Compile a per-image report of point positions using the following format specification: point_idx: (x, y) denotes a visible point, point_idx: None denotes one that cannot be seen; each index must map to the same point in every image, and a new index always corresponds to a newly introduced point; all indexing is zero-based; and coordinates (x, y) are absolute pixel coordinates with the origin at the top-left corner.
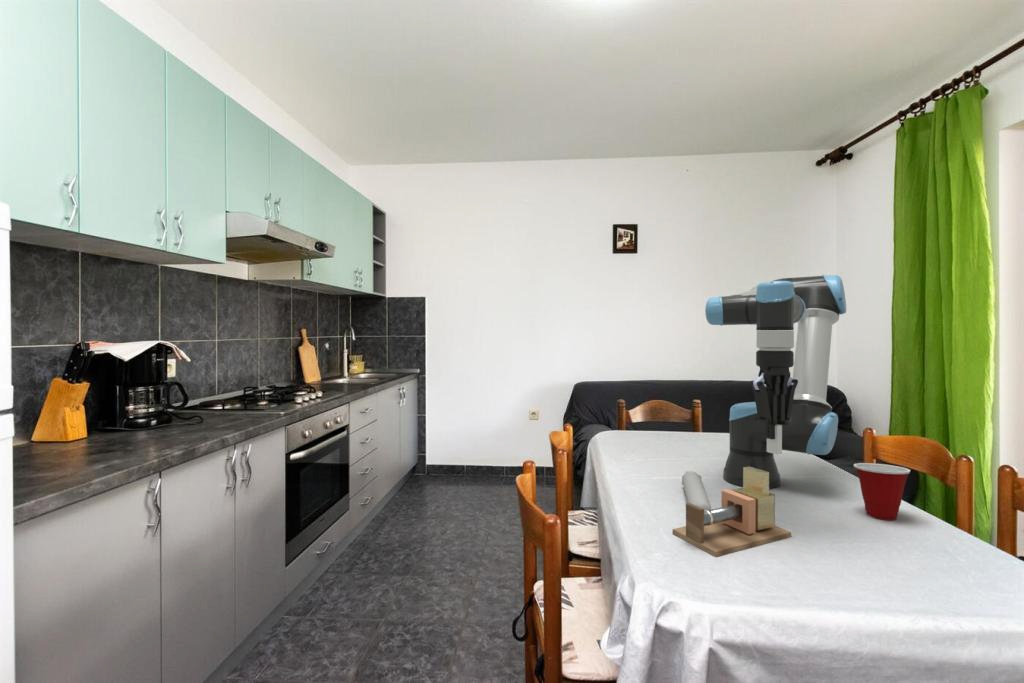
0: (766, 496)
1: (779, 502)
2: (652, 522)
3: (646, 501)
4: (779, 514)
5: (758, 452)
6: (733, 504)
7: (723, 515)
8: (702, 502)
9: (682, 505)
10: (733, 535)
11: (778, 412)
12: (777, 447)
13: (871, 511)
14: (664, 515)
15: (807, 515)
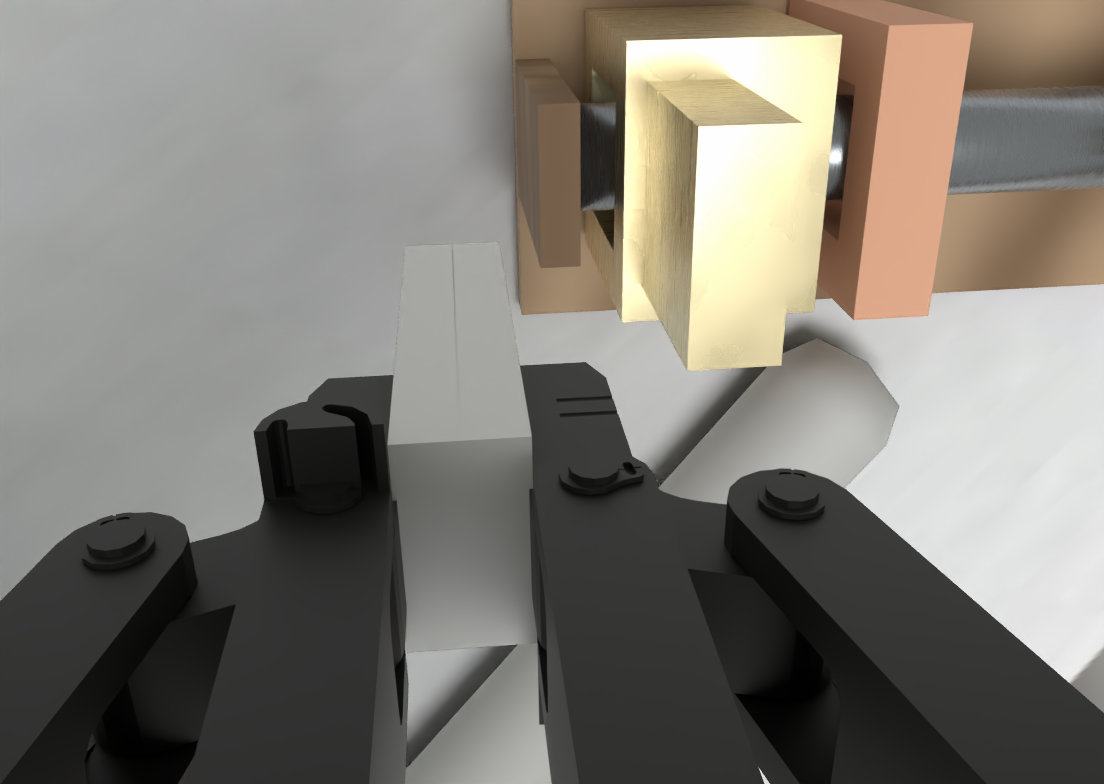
0: (711, 55)
1: (33, 419)
2: (1092, 441)
3: None
4: (232, 250)
5: None
6: (825, 225)
7: (1073, 93)
8: (853, 419)
9: None
10: None
11: (390, 694)
12: (501, 275)
13: None
14: (947, 499)
15: (30, 154)
